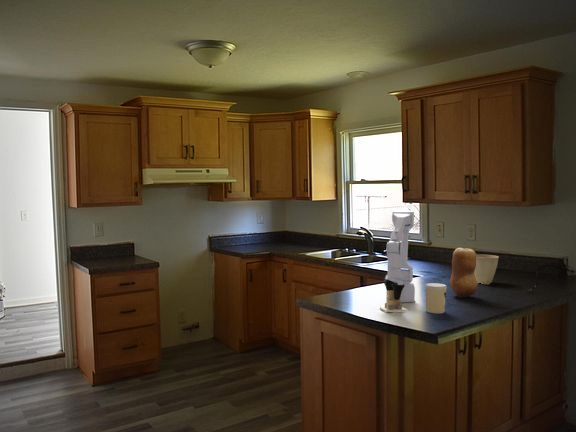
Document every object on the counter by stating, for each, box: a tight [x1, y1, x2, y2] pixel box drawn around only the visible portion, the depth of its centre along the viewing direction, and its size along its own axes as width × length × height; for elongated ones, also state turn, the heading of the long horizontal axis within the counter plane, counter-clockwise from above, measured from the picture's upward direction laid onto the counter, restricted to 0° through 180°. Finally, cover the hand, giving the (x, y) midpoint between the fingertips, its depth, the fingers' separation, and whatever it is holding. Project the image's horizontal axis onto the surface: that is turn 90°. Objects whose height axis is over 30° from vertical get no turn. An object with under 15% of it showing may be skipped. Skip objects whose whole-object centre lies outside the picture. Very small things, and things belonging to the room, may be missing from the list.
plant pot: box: [474, 254, 500, 285], centre depth 305 cm, size 15×15×16 cm
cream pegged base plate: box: [379, 302, 408, 314], centre depth 237 cm, size 10×7×3 cm
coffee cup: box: [424, 282, 448, 314], centre depth 236 cm, size 9×9×12 cm
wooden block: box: [385, 290, 402, 309], centre depth 237 cm, size 6×2×8 cm, turn 102°
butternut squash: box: [449, 247, 478, 299], centre depth 266 cm, size 14×13×25 cm
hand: (393, 297), depth 237 cm, fingers open, 7 cm apart
